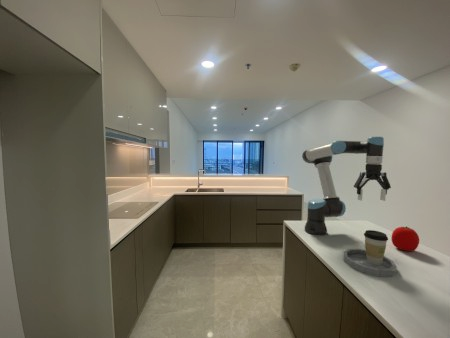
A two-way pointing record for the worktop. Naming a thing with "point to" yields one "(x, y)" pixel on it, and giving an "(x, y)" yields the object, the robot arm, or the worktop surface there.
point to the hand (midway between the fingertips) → (371, 200)
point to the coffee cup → (375, 246)
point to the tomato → (405, 238)
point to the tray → (360, 263)
